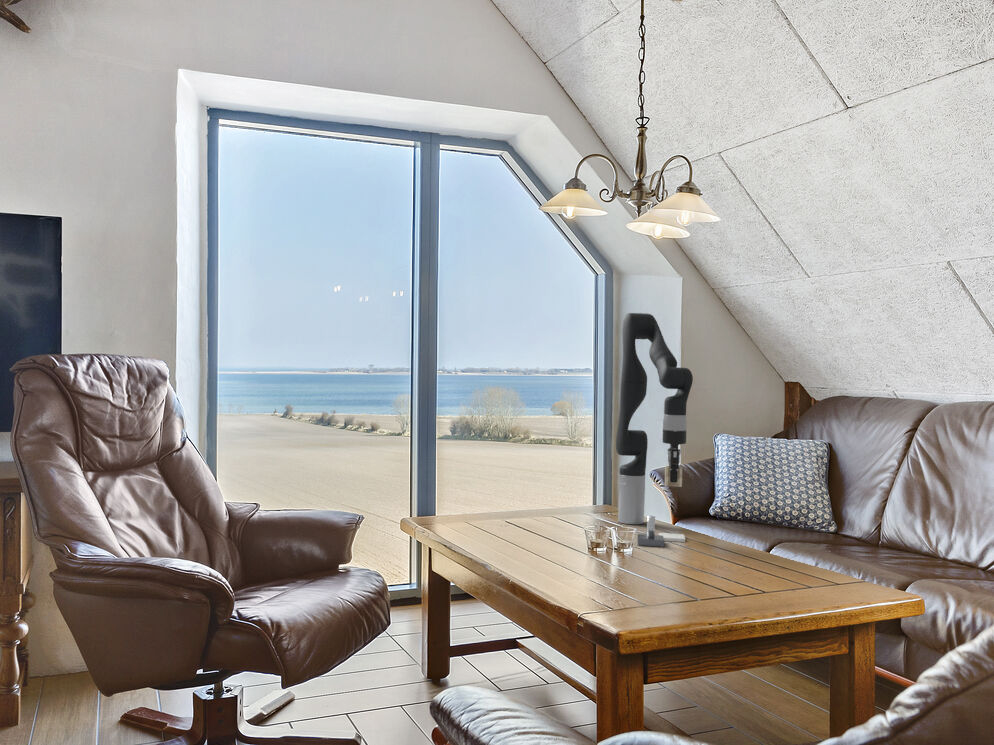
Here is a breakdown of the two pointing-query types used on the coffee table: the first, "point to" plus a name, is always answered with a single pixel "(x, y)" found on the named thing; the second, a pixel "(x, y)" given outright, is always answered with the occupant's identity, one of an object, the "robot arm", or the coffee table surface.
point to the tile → (673, 537)
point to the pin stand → (650, 535)
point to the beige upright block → (667, 477)
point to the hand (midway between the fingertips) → (673, 481)
